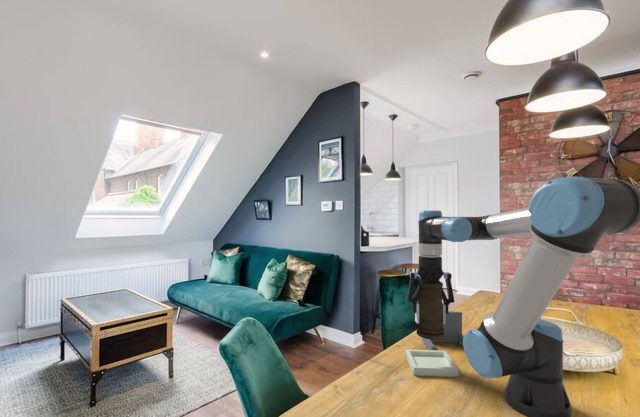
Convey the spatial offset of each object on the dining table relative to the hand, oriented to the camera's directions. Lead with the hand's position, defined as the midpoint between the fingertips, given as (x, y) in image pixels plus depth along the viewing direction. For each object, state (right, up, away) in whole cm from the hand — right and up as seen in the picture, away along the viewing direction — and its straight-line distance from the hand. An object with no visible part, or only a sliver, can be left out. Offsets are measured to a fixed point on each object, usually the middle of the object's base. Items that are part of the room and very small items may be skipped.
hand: (430, 322), depth 113 cm
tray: (0, -15, 0) cm, 15 cm away
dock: (+11, -15, +14) cm, 23 cm away
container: (0, -4, 0) cm, 4 cm away
